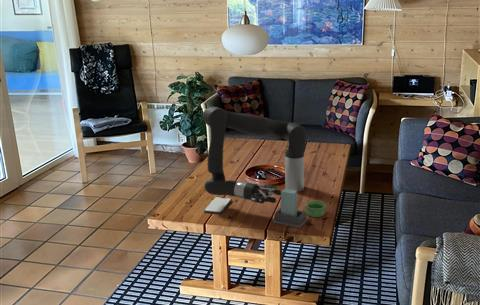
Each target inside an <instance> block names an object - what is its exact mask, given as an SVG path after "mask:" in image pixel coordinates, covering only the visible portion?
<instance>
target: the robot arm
mask: <svg viewBox="0 0 480 305" xmlns="http://www.w3.org/2000/svg"><path fill="white" fill-rule="evenodd" d="M202 120H203V122H204V123H205V125H207V126H209V127H210V143H209V148H208V151H207V172H208V173H210V174H211V178H210V179H207V180H206V182H205V183H204V190H205V191H206V193H208V194H210V195H214V196H230V197H234V198H239V199H242V200H247V201H251V202H254V203H257V204H265V203H273V204H275V203H276V202H277V198H276V197H273V195H277V196H281V191H282V190H283V189H282V190H281V189H278V186H273V185H264V186H263V187H260V186H259V184H257V183H252V182H247V181H246V182H245V181H238V180H226V177H225V176H226V175H225V171H224V144H225V143H224V142H225V134H226V128H230V129H233V130H235V131H238V132H241V133H244V134H248V135H252V136H257V137H269V136H273V137H277V138H281V139H284V140H285V141H288V148H287V149H285V150H284V151H285V152H284V166H285V167H284V170H285V171H284V173H285V174H284V176H285V177H284V179H285V180H284V184H285V185H284V186H285V187H284V189H290V190H295V191H297V192H302V191H303V190H304V189H305V188H304V186H305V151H306V149H307V148H306V147H307V132H306V129H305V127H304V126H302V125H300V124H298V123H297V122H296V123H295V122H290V121H289V122H288V121H279V120H274V119H272V118H269V117H264V116H260V115H255V114H251V113H243V112H232V111H228V110H225V109H222V108H221V107H218V106H209V107H207V108H206V109H204V110H203V112H202Z"/></svg>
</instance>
